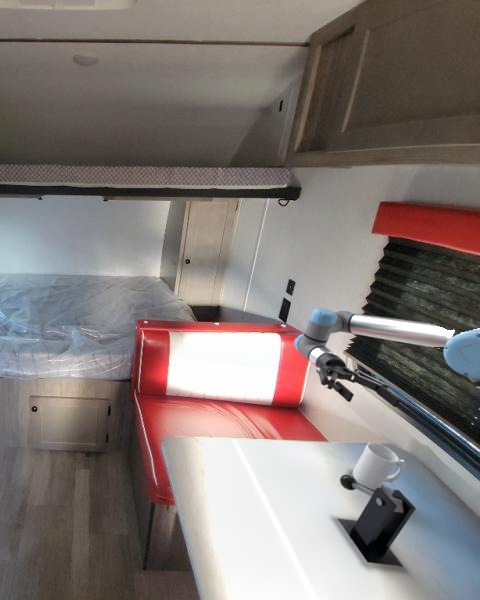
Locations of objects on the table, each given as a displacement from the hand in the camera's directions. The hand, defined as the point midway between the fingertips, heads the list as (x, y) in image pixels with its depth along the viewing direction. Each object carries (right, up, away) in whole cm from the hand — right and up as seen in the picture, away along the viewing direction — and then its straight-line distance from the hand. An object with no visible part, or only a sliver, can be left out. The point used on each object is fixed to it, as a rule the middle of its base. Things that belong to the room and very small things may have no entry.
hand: (374, 400), depth 98 cm
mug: (-3, -24, -2) cm, 24 cm away
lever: (-17, -18, -18) cm, 31 cm away
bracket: (-19, -29, -19) cm, 39 cm away
